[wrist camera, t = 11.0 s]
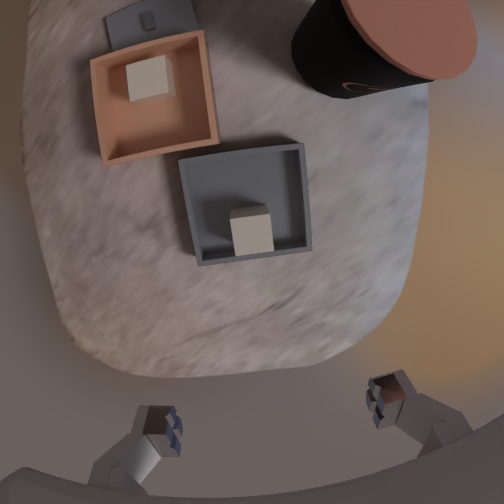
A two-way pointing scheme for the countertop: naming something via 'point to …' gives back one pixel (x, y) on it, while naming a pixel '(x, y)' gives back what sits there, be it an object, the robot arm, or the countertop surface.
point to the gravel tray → (247, 198)
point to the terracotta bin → (159, 112)
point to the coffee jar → (382, 44)
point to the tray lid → (150, 22)
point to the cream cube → (151, 80)
